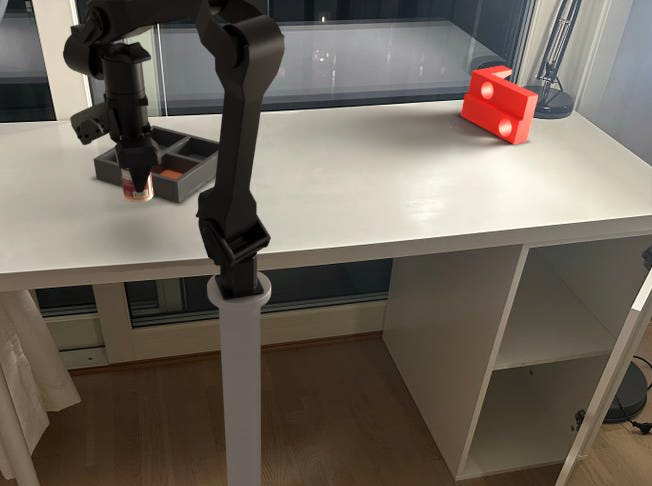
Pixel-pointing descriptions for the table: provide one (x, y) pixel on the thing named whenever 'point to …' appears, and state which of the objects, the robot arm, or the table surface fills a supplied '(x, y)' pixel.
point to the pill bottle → (130, 190)
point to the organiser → (170, 164)
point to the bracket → (499, 104)
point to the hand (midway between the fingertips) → (137, 185)
